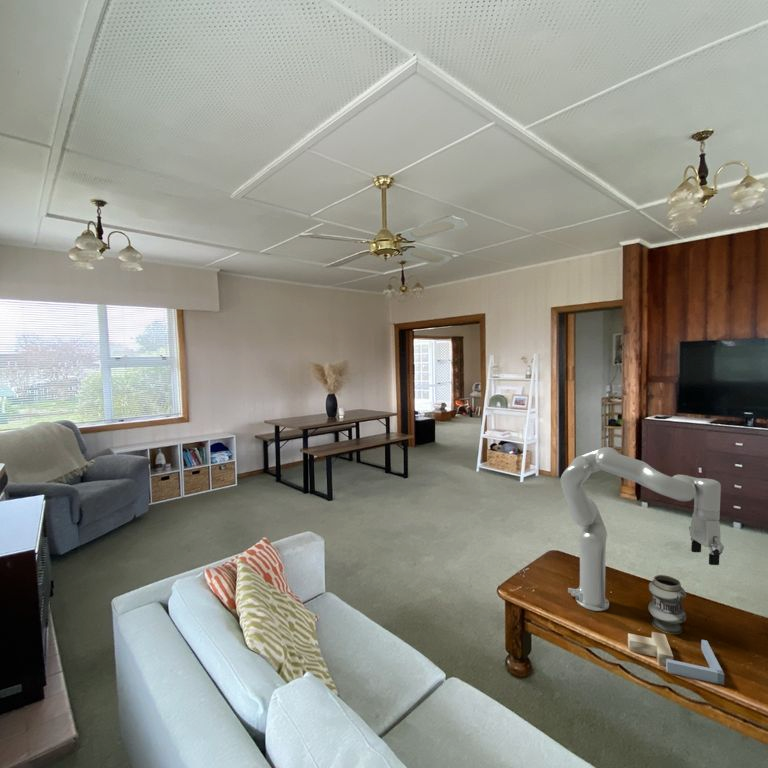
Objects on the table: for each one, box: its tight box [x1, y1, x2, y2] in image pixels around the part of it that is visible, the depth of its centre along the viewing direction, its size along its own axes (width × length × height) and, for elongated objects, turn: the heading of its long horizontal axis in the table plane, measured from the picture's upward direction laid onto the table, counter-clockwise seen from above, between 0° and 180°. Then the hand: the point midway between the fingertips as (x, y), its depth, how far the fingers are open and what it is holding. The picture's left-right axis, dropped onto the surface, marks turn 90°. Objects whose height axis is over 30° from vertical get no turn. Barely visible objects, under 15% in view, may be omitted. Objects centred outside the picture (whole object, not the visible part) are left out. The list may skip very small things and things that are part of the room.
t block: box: [627, 631, 674, 667], centre depth 147 cm, size 12×12×4 cm
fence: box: [665, 639, 725, 686], centre depth 142 cm, size 15×17×4 cm
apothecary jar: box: [647, 574, 687, 635], centre depth 160 cm, size 12×12×18 cm
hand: (704, 558), depth 156 cm, fingers open, 9 cm apart
